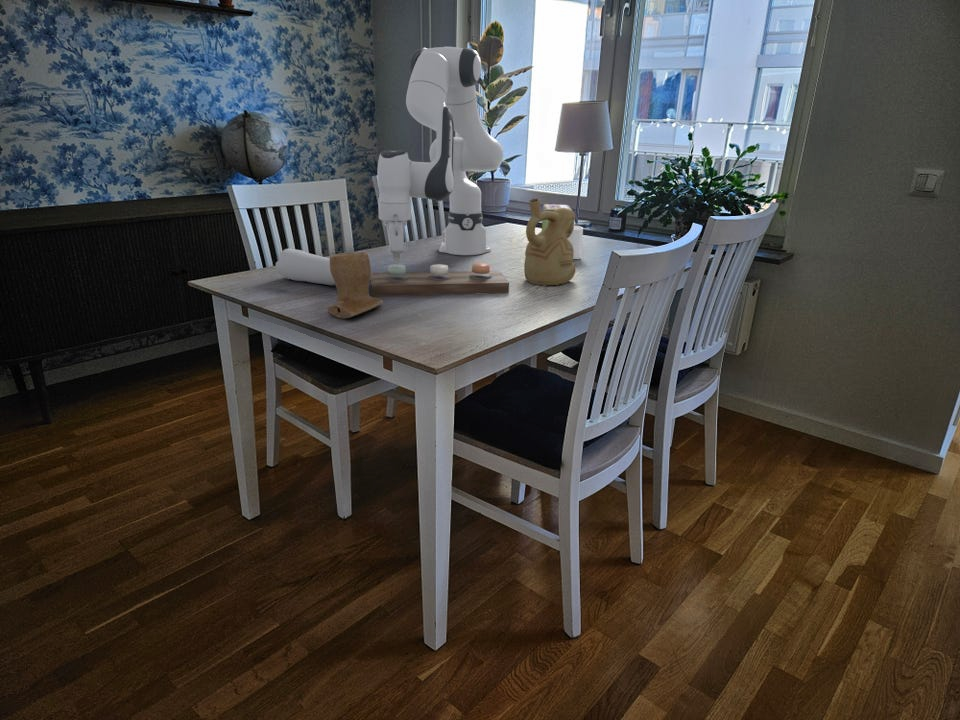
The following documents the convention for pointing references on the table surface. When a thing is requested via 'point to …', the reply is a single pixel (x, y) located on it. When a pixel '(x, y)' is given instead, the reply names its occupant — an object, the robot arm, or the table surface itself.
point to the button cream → (439, 269)
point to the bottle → (305, 267)
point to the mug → (576, 241)
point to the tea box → (552, 208)
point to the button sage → (396, 269)
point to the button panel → (438, 283)
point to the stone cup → (351, 284)
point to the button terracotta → (480, 268)
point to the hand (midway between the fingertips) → (396, 262)
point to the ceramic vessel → (549, 246)
